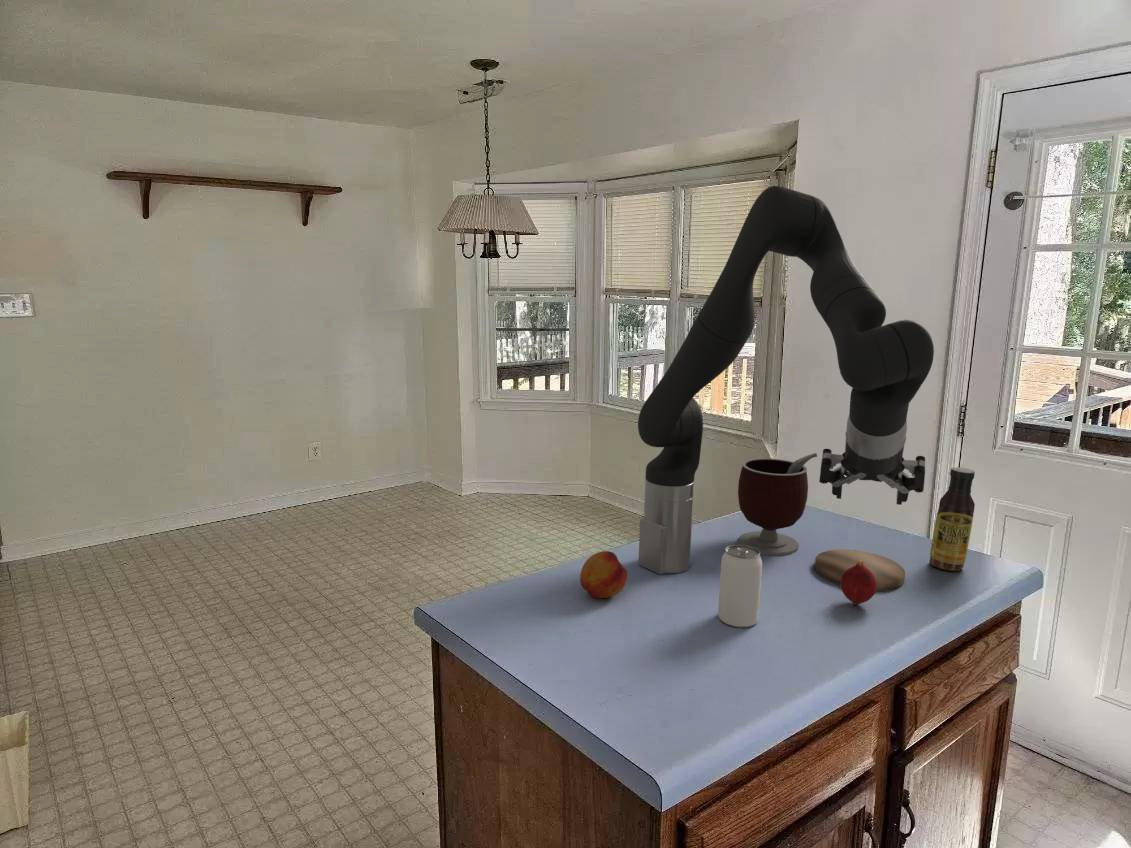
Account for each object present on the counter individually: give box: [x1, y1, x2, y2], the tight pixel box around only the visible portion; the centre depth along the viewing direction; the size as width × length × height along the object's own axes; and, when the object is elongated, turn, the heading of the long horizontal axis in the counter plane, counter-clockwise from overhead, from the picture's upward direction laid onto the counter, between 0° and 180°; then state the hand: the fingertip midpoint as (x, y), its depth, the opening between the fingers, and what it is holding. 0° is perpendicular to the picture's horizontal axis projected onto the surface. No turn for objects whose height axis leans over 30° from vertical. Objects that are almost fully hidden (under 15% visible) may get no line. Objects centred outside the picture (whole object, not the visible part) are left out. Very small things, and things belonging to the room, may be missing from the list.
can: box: [717, 544, 763, 629], centre depth 118 cm, size 6×6×12 cm
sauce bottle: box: [929, 466, 976, 572], centre depth 140 cm, size 7×6×20 cm
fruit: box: [579, 550, 629, 599], centre depth 127 cm, size 8×8×8 cm
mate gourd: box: [737, 452, 818, 557], centre depth 151 cm, size 16×14×20 cm
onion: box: [839, 560, 877, 606], centre depth 125 cm, size 6×6×8 cm
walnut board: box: [814, 549, 906, 592], centre depth 139 cm, size 16×16×2 cm
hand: (868, 496), depth 112 cm, fingers open, 8 cm apart
